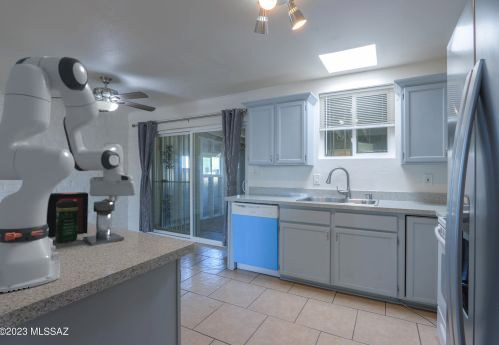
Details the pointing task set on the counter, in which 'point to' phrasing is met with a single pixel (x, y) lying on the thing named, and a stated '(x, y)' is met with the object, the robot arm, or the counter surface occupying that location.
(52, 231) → the cleaning product box
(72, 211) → the coffee jar
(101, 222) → the silver pedestal stand
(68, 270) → the counter surface
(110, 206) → the elbow
